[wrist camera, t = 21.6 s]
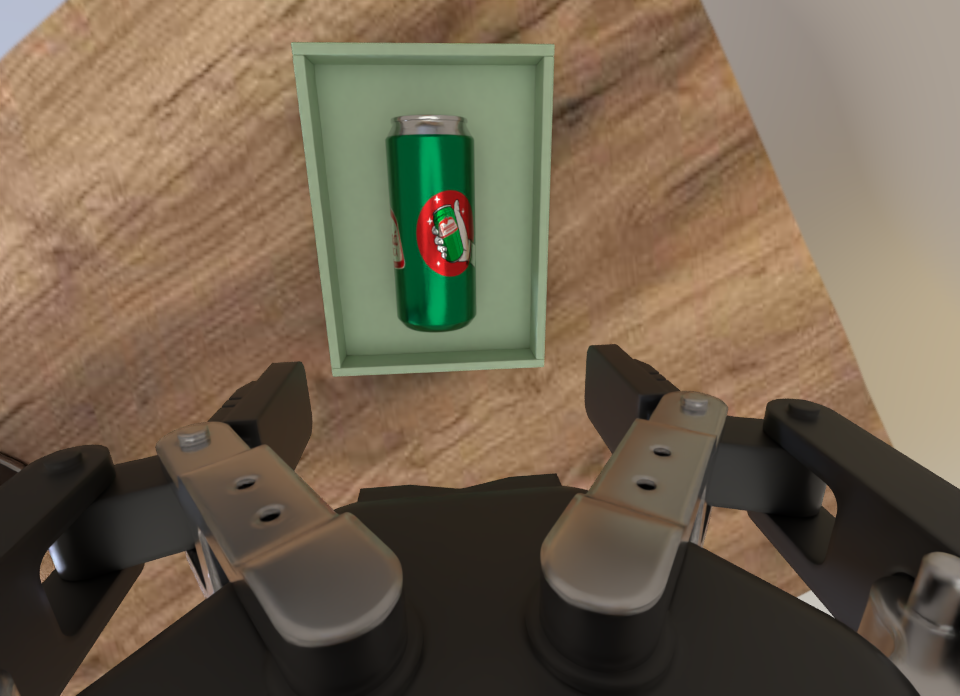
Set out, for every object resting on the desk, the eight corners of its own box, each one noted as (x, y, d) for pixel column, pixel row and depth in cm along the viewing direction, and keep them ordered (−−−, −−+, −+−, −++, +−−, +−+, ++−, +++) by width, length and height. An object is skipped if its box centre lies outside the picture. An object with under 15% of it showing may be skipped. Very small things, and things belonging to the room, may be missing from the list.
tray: (535, 352, 36) (544, 367, 33) (340, 360, 35) (332, 377, 32) (543, 56, 30) (554, 43, 27) (304, 55, 28) (290, 41, 26)
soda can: (410, 312, 34) (398, 124, 30) (481, 313, 33) (480, 122, 29) (387, 333, 29) (370, 114, 25) (470, 336, 29) (466, 111, 25)
